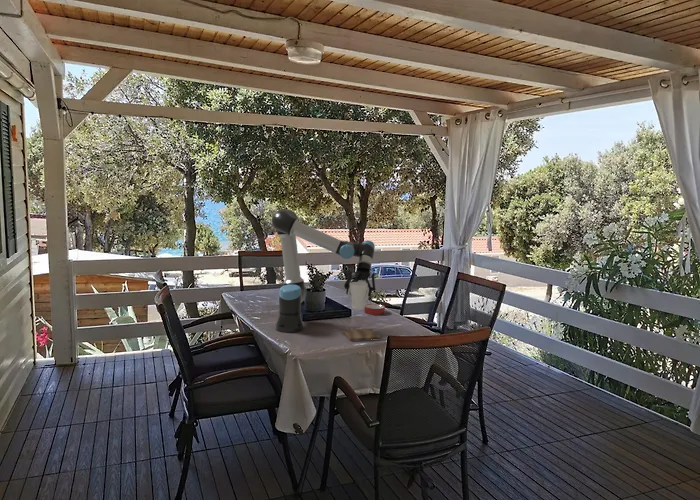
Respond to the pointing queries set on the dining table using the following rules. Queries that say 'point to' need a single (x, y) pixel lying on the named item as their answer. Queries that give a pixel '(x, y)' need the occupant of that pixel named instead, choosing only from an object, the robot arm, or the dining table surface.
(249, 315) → the dining table surface
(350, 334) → the walnut board
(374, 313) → the frying pan
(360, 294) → the foam cup
